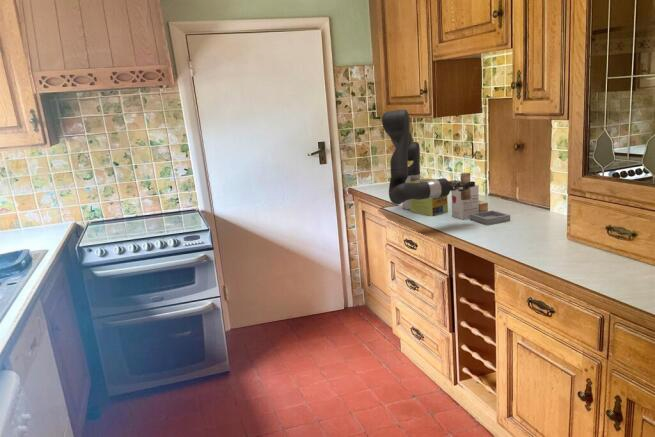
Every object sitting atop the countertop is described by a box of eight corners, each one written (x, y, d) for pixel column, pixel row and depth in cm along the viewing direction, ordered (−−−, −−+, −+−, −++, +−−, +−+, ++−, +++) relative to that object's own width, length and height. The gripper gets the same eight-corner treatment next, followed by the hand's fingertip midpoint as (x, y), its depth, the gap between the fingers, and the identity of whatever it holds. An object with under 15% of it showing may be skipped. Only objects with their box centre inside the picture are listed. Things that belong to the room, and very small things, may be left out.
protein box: (432, 216, 242) (431, 183, 239) (410, 212, 255) (408, 180, 251) (448, 212, 248) (447, 180, 244) (425, 208, 260) (424, 177, 257)
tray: (470, 219, 230) (469, 214, 229) (492, 215, 234) (492, 210, 233) (486, 225, 219) (486, 219, 218) (510, 220, 223) (510, 215, 222)
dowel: (459, 199, 221) (458, 173, 219) (467, 197, 223) (466, 172, 220) (464, 200, 218) (464, 174, 215) (472, 199, 219) (472, 173, 216)
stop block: (467, 213, 243) (467, 200, 241) (474, 211, 244) (474, 199, 242) (480, 217, 233) (480, 204, 232) (487, 215, 235) (487, 202, 233)
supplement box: (451, 216, 240) (450, 184, 236) (468, 213, 242) (467, 181, 239) (462, 219, 231) (461, 186, 228) (479, 216, 234) (479, 184, 230)
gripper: (444, 181, 207) (481, 176, 212) (426, 177, 220) (461, 172, 225) (445, 200, 209) (481, 194, 214) (427, 194, 222) (461, 189, 227)
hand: (471, 183), depth 219 cm, fingers closed on dowel, 4 cm apart
